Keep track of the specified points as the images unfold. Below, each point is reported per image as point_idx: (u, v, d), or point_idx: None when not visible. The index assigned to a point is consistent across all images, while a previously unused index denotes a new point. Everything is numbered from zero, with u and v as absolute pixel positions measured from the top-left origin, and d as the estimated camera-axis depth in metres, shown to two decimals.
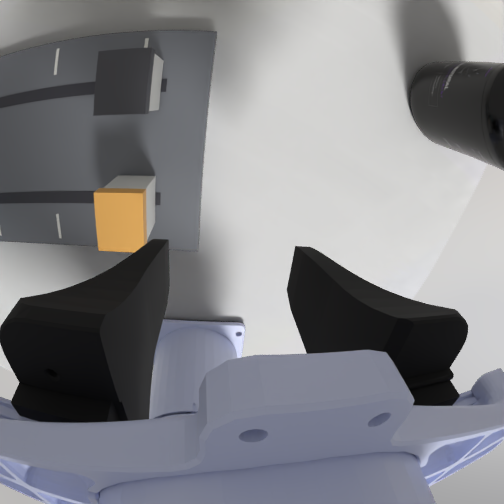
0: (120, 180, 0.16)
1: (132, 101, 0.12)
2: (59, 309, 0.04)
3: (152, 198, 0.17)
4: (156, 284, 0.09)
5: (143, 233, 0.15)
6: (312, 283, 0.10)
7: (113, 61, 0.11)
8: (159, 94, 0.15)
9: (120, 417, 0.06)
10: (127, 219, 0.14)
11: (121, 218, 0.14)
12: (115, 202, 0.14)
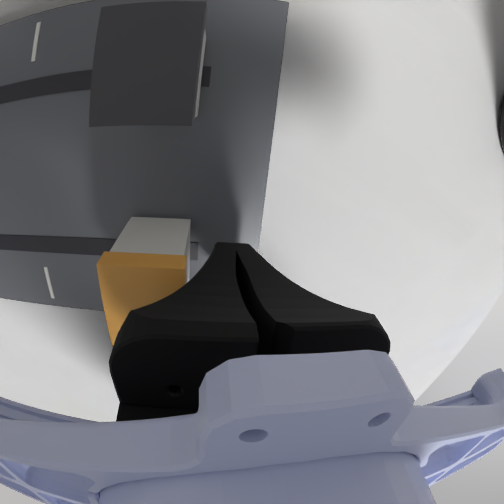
0: (137, 229, 0.11)
1: (166, 100, 0.06)
2: (200, 321, 0.05)
3: (188, 256, 0.12)
4: None
5: None
6: (239, 281, 0.10)
7: (129, 24, 0.05)
8: None
9: None
10: None
11: None
12: (135, 281, 0.08)
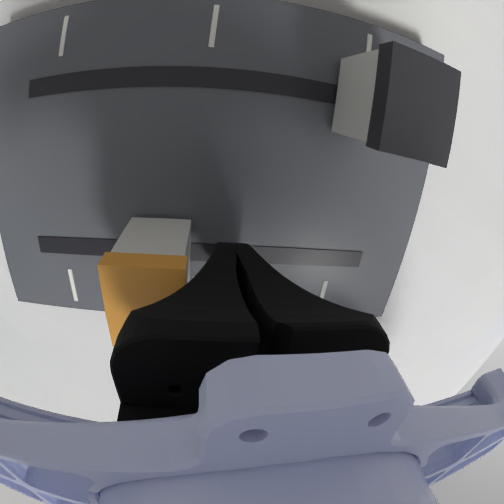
0: (137, 230, 0.11)
1: (435, 144, 0.07)
2: (201, 321, 0.05)
3: (188, 256, 0.12)
4: None
5: None
6: (238, 281, 0.10)
7: (416, 69, 0.06)
8: None
9: None
10: None
11: None
12: (136, 281, 0.08)
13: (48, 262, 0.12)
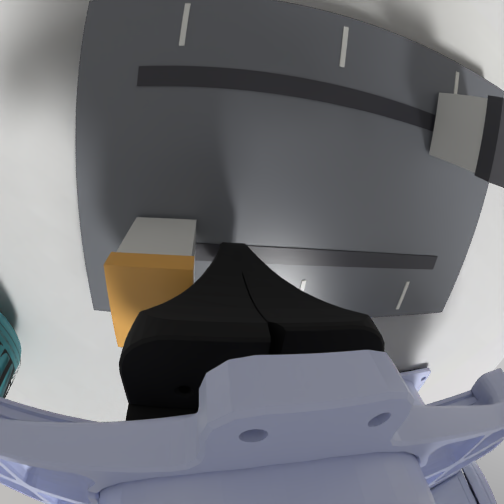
0: (143, 230, 0.11)
1: None
2: (212, 321, 0.05)
3: None
4: None
5: None
6: None
7: None
8: None
9: None
10: None
11: None
12: (142, 281, 0.08)
13: None
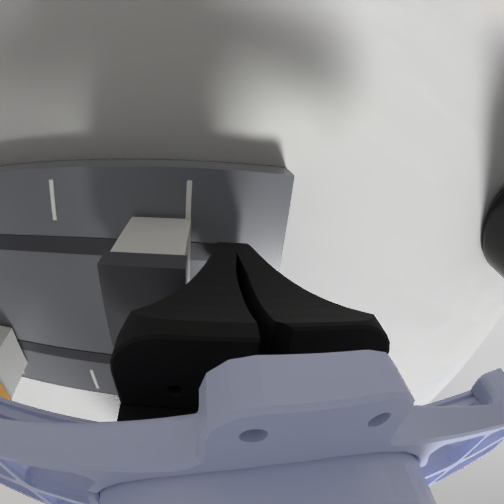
0: None
1: None
2: (201, 321, 0.05)
3: (12, 352, 0.13)
4: None
5: None
6: (238, 281, 0.10)
7: (125, 284, 0.08)
8: (189, 268, 0.13)
9: None
10: None
11: None
12: None
13: None
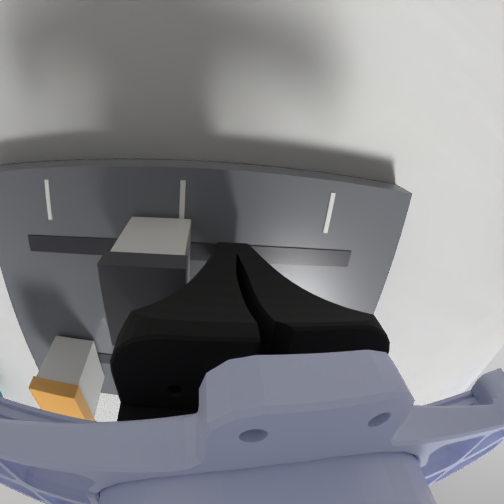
0: (56, 352, 0.13)
1: None
2: (202, 321, 0.05)
3: (93, 367, 0.14)
4: None
5: None
6: (238, 281, 0.10)
7: (125, 283, 0.08)
8: (189, 268, 0.13)
9: None
10: (67, 412, 0.11)
11: (62, 410, 0.11)
12: (51, 399, 0.11)
13: None
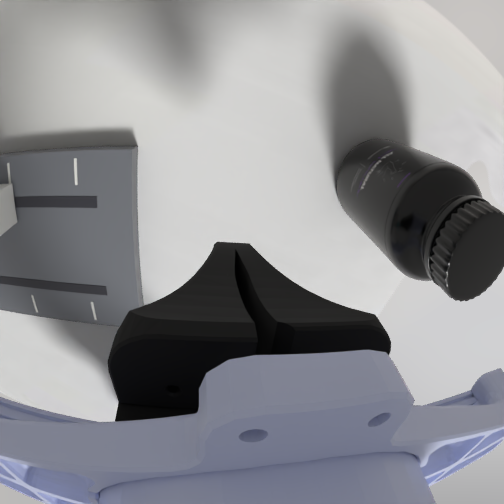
0: None
1: None
2: (199, 321, 0.05)
3: None
4: None
5: None
6: (239, 281, 0.10)
7: None
8: (13, 211, 0.17)
9: None
10: None
11: None
12: None
13: None
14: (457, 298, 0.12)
